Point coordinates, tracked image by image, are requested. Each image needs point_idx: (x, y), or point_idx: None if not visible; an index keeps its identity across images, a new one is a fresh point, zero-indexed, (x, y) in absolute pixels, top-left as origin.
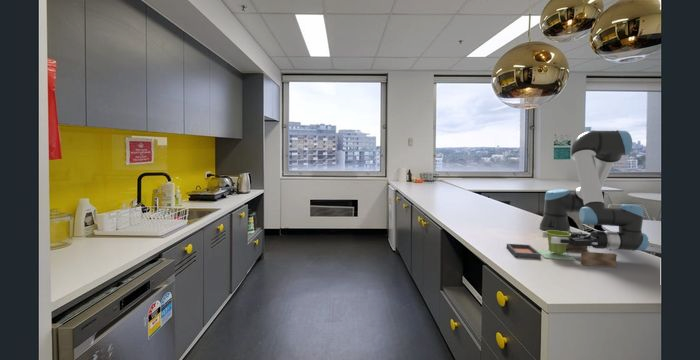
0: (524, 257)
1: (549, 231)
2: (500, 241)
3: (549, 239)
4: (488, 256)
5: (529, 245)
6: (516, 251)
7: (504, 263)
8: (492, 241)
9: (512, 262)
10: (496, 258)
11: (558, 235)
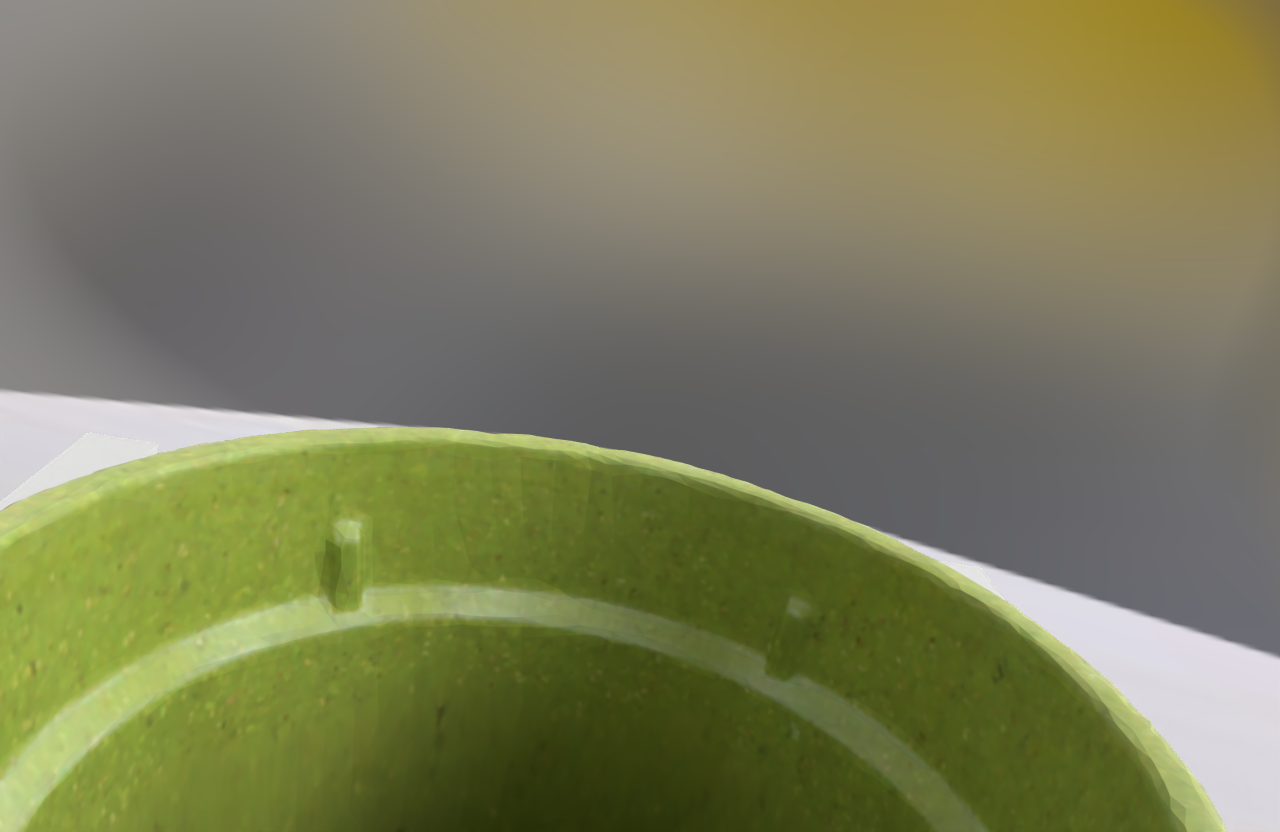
0: None
1: (946, 630)
2: (1155, 700)
3: (464, 702)
4: (312, 420)
5: None
6: None
7: (14, 425)
8: (1068, 625)
9: (23, 478)
10: (227, 437)
11: (56, 487)
